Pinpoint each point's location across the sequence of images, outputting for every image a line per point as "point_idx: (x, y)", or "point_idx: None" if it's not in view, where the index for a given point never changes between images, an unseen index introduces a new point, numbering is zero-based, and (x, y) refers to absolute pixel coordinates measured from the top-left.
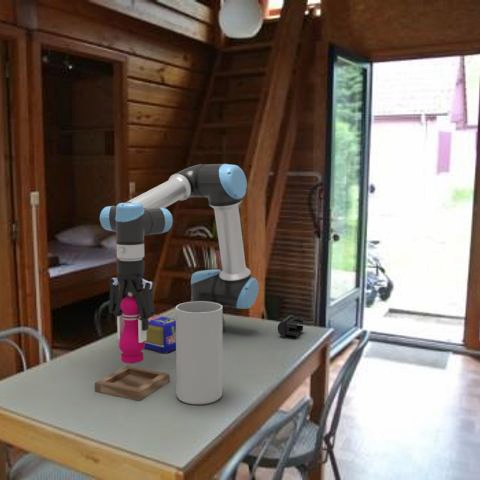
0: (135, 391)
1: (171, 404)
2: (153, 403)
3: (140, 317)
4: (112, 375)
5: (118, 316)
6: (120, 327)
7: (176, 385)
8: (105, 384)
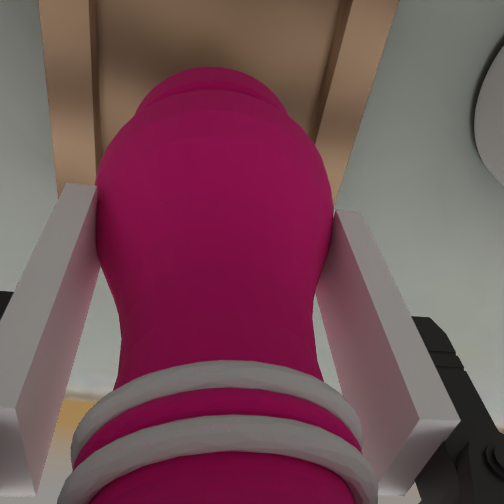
0: None
1: (454, 201)
2: (379, 214)
3: (360, 423)
4: (71, 97)
5: (6, 490)
6: (72, 345)
7: (498, 165)
8: None
